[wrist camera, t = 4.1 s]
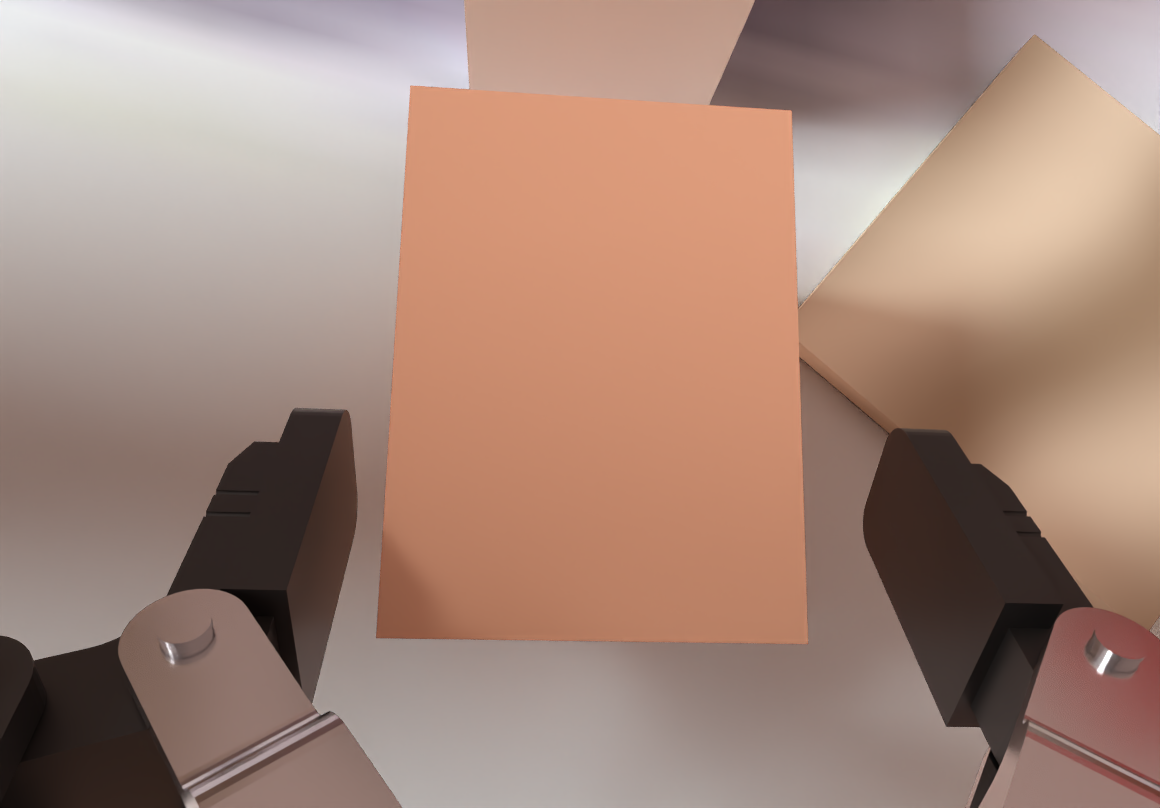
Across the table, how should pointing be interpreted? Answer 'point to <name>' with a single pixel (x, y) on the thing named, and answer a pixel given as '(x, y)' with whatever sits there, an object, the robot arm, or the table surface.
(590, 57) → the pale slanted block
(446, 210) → the peach rectangular brick
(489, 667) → the table surface
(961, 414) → the birch coaster
